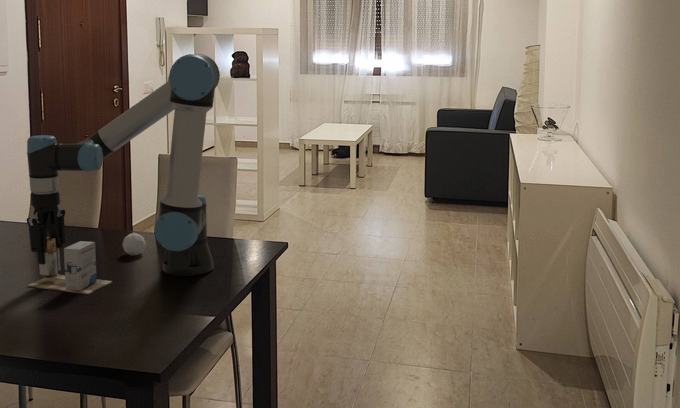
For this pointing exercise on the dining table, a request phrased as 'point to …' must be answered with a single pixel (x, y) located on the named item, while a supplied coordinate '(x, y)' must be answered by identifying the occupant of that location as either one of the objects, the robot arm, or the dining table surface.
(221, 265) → the dining table surface
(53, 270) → the brown grey rounded cylinder
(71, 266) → the ink box
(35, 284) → the panel
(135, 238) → the ornament
